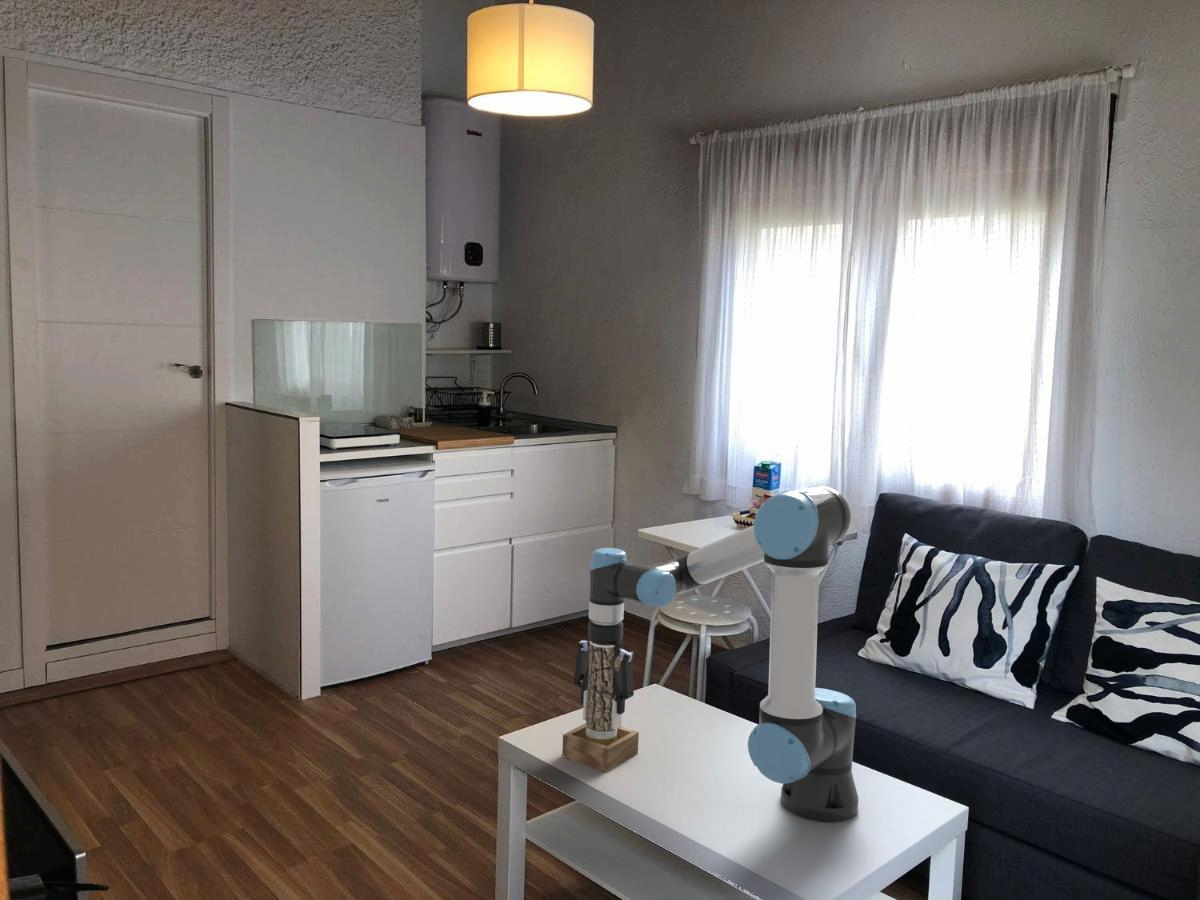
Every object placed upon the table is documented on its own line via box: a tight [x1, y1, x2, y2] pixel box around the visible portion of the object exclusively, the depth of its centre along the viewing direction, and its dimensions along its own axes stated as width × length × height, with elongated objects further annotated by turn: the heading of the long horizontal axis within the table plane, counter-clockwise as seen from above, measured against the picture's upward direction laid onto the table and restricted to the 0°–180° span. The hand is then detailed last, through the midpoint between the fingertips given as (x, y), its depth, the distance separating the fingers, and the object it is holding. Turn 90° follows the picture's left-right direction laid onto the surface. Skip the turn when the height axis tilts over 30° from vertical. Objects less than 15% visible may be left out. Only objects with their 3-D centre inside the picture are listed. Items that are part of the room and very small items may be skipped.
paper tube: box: [585, 639, 621, 746], centre depth 219 cm, size 7×7×25 cm
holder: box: [561, 722, 640, 773], centre depth 220 cm, size 12×12×5 cm
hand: (601, 722), depth 220 cm, fingers closed on paper tube, 7 cm apart
